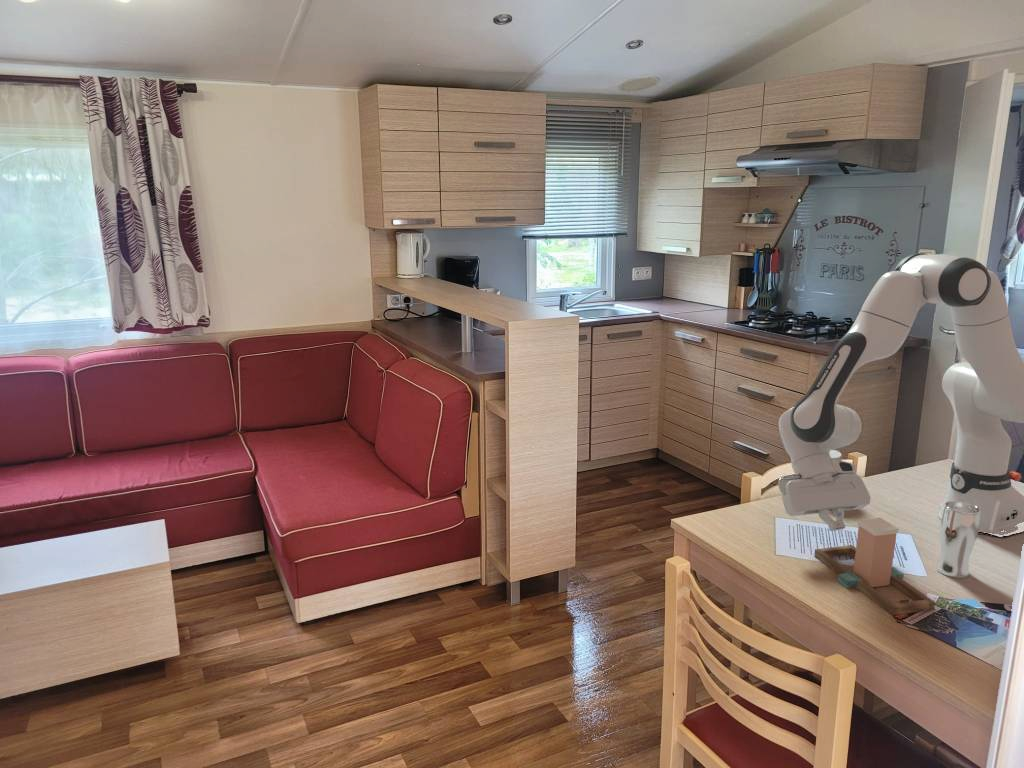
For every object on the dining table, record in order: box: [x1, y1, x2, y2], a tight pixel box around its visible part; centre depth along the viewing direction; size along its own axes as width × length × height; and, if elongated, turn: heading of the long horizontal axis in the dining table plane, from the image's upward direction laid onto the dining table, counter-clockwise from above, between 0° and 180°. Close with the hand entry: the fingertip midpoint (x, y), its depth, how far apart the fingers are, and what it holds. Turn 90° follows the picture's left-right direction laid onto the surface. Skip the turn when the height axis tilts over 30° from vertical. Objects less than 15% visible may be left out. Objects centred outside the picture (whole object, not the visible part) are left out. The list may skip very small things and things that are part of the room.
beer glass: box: [935, 501, 981, 579], centre depth 159 cm, size 7×7×15 cm
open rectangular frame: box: [813, 544, 936, 616], centre depth 157 cm, size 13×25×2 cm, turn 13°
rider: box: [852, 517, 899, 588], centre depth 155 cm, size 5×5×13 cm
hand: (838, 529), depth 167 cm, fingers closed
